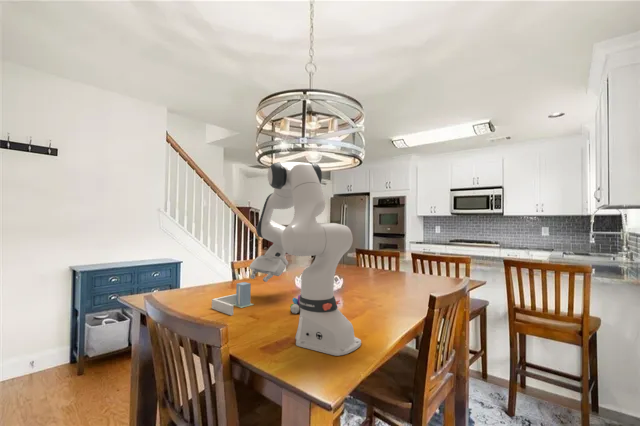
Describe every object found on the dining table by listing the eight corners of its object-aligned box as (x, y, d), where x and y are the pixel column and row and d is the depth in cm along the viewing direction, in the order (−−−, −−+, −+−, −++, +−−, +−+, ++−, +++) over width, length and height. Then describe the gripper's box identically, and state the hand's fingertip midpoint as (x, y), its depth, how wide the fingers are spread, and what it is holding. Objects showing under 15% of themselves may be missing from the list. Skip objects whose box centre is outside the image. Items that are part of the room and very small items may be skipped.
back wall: (243, 301, 151) (243, 292, 151) (213, 308, 138) (213, 299, 138) (242, 300, 151) (242, 292, 151) (211, 308, 139) (211, 299, 139)
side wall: (233, 314, 131) (233, 305, 131) (230, 315, 130) (231, 305, 130) (215, 308, 139) (215, 299, 139) (213, 308, 138) (213, 299, 138)
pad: (254, 304, 146) (254, 304, 146) (241, 308, 140) (241, 307, 140) (244, 301, 150) (244, 301, 150) (232, 304, 145) (232, 304, 145)
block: (250, 304, 145) (250, 283, 145) (242, 306, 142) (242, 285, 142) (244, 302, 148) (244, 282, 148) (236, 304, 145) (236, 283, 145)
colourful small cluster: (310, 316, 131) (310, 298, 131) (287, 314, 133) (287, 296, 133) (314, 310, 140) (314, 293, 140) (293, 308, 141) (293, 292, 141)
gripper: (256, 250, 164) (240, 272, 157) (284, 254, 151) (268, 278, 144) (263, 258, 168) (247, 280, 160) (291, 263, 155) (275, 286, 147)
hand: (257, 279), depth 152 cm, fingers open, 8 cm apart
